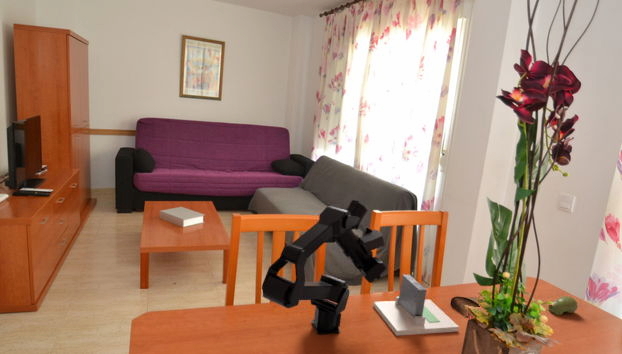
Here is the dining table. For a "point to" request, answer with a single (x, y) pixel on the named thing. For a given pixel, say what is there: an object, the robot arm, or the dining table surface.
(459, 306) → the sunglasses case
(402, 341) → the dining table surface
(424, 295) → the dark grey square panel
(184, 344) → the dining table surface
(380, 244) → the robot arm
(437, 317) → the pivot board
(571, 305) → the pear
